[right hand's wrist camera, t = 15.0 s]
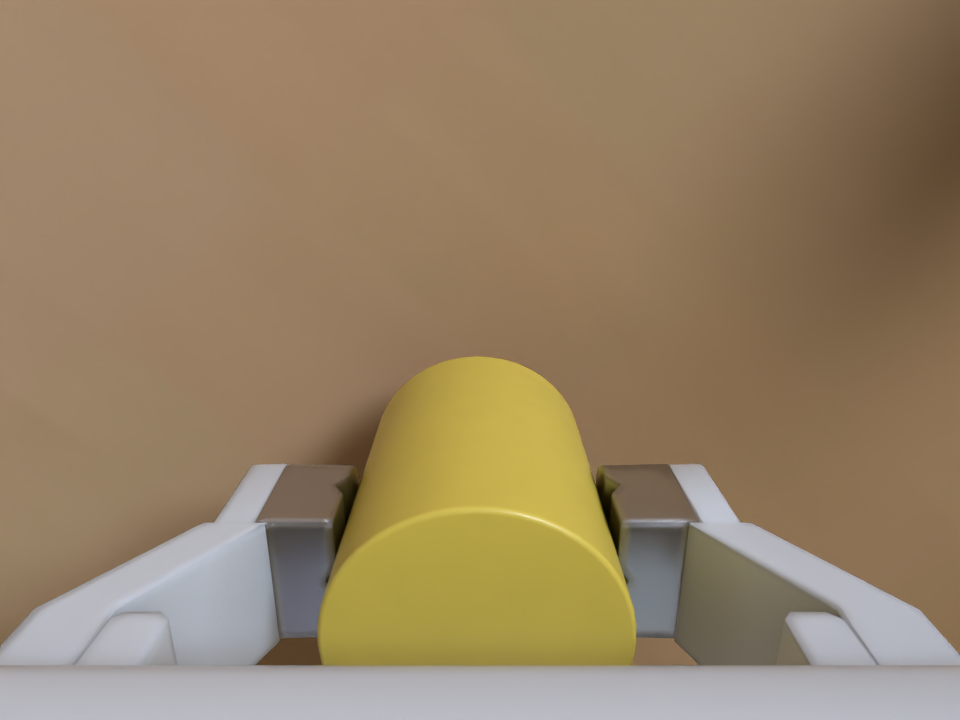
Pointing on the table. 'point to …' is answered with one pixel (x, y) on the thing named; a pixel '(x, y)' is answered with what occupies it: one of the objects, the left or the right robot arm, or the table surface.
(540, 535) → the yellow cylinder
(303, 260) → the table surface
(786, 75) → the table surface
